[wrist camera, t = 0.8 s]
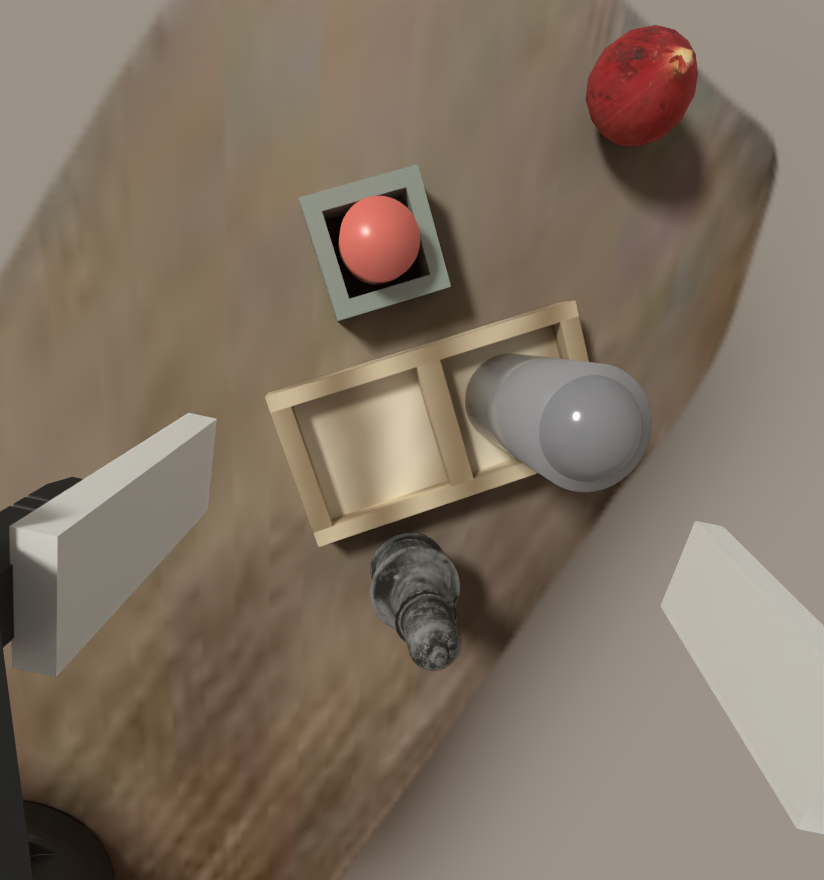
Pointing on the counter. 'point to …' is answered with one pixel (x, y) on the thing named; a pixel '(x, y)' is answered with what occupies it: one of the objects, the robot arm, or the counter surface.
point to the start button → (378, 240)
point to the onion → (642, 85)
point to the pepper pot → (562, 417)
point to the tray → (407, 426)
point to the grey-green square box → (338, 203)
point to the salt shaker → (418, 597)
